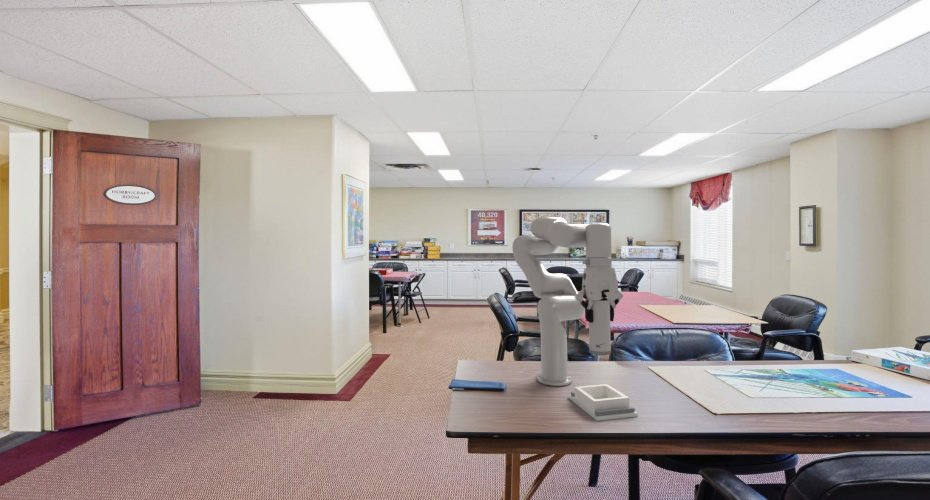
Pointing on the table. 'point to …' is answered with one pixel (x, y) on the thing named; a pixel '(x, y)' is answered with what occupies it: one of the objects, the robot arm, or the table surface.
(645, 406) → the table surface
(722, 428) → the table surface
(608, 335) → the travel mug
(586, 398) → the white rectangular tray
